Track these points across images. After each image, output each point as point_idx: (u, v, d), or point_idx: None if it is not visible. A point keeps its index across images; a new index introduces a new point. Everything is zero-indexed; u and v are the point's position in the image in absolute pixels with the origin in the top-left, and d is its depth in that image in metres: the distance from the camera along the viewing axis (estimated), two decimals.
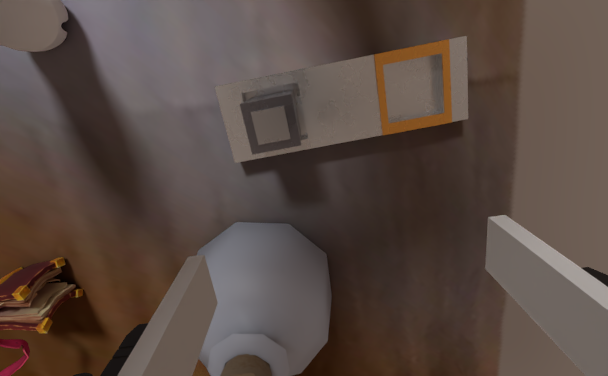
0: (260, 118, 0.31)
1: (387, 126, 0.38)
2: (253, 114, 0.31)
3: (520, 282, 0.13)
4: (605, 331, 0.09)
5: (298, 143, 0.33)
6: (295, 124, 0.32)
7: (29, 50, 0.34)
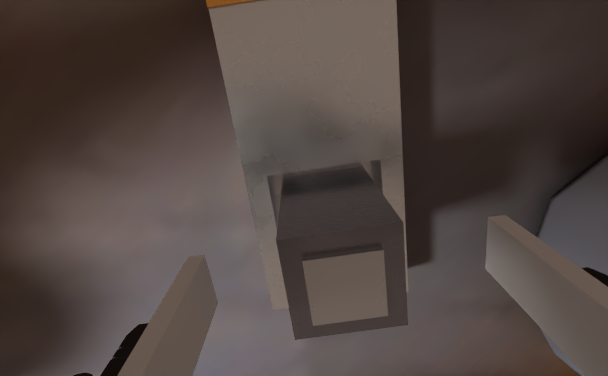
0: (327, 308, 0.14)
1: None
2: (318, 321, 0.14)
3: (519, 282, 0.13)
4: (605, 331, 0.09)
5: (397, 228, 0.13)
6: (349, 234, 0.13)
7: None
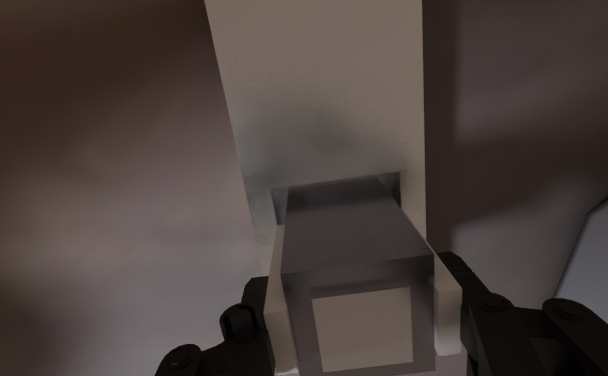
0: (341, 353, 0.11)
1: None
2: (329, 367, 0.12)
3: None
4: None
5: (426, 261, 0.11)
6: (368, 267, 0.11)
7: None
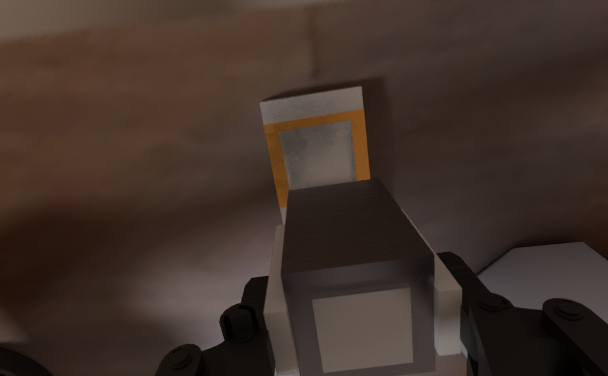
0: (341, 354, 0.11)
1: None
2: (330, 367, 0.12)
3: None
4: None
5: (427, 262, 0.11)
6: (368, 267, 0.11)
7: None
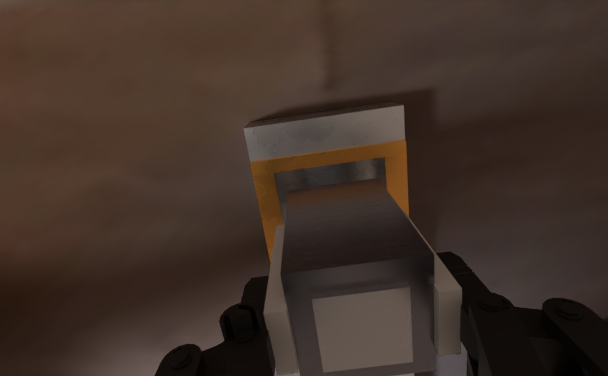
0: (341, 353, 0.11)
1: None
2: (329, 366, 0.12)
3: None
4: None
5: (426, 261, 0.11)
6: (368, 267, 0.11)
7: None
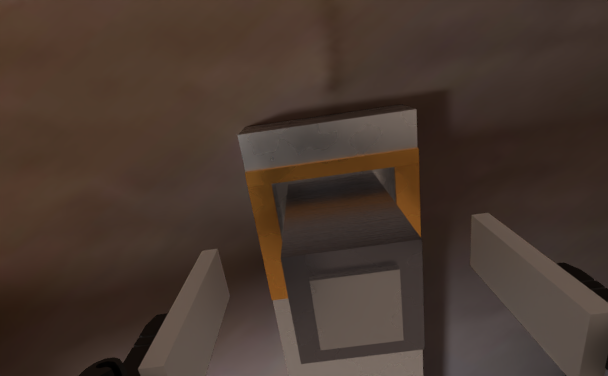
0: (337, 332, 0.12)
1: None
2: (326, 344, 0.13)
3: (500, 278, 0.13)
4: (574, 323, 0.09)
5: (415, 246, 0.12)
6: (361, 251, 0.12)
7: None
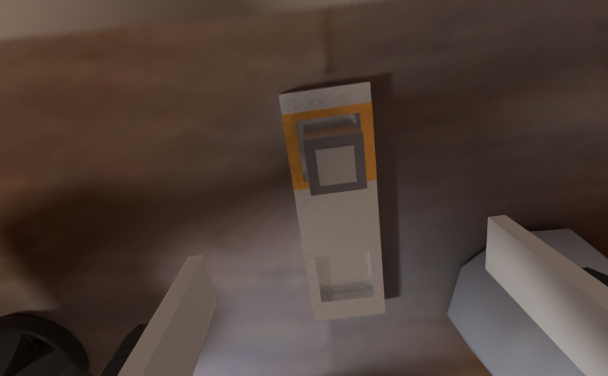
0: (327, 176, 0.28)
1: (367, 175, 0.35)
2: (322, 183, 0.28)
3: (520, 282, 0.13)
4: (605, 331, 0.09)
5: (360, 135, 0.27)
6: (337, 137, 0.27)
7: None
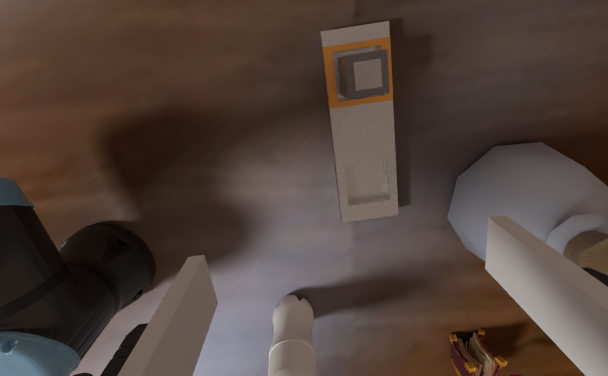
0: (361, 83, 0.39)
1: (386, 96, 0.46)
2: (357, 88, 0.39)
3: (520, 282, 0.13)
4: (605, 331, 0.09)
5: (385, 51, 0.38)
6: (369, 53, 0.38)
7: (313, 320, 0.57)
